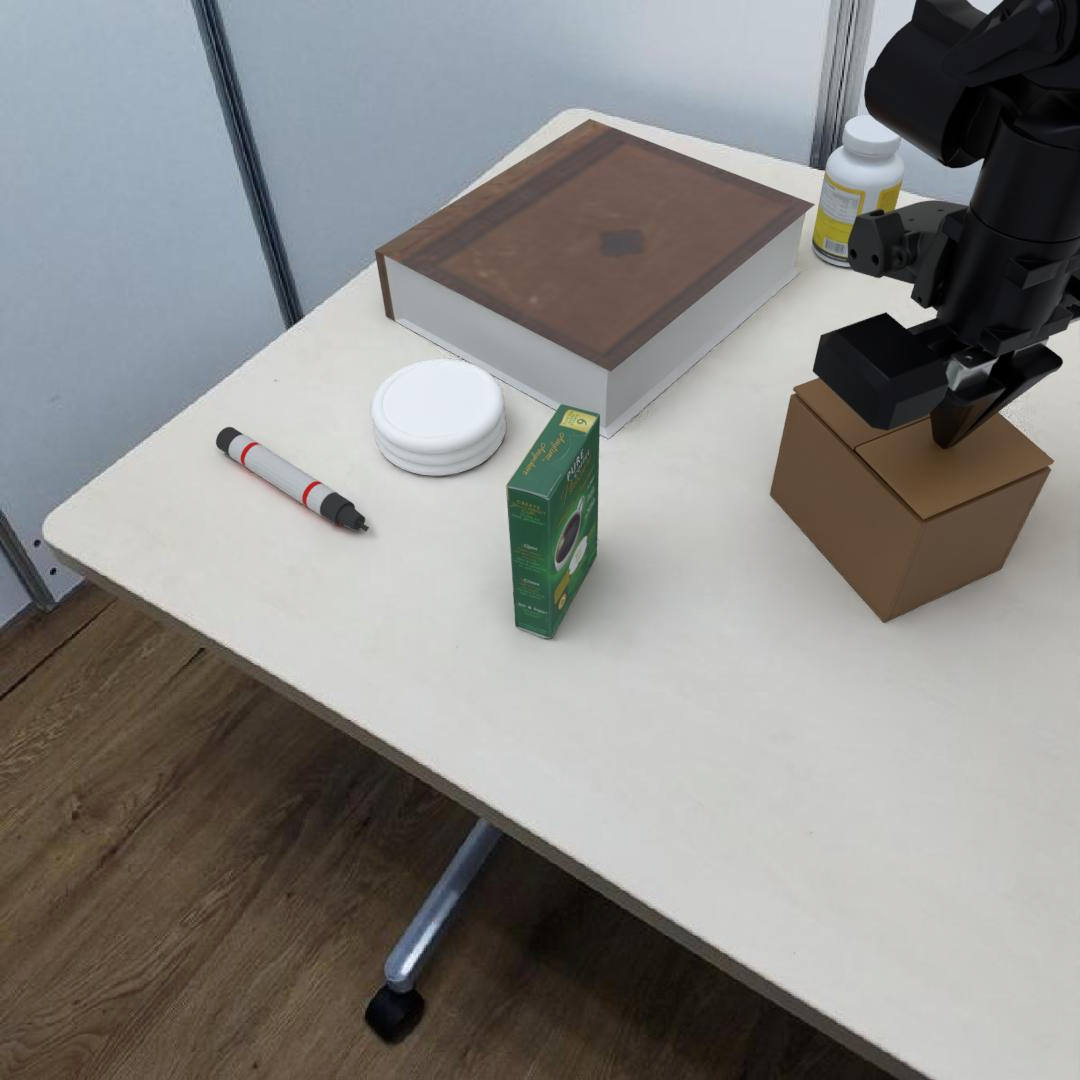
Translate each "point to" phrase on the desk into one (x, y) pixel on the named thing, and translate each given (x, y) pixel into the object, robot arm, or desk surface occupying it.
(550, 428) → the coffee box
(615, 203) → the book
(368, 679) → the desk surface
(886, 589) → the carton
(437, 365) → the white round container
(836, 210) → the pill bottle
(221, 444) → the marker
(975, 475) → the flap
